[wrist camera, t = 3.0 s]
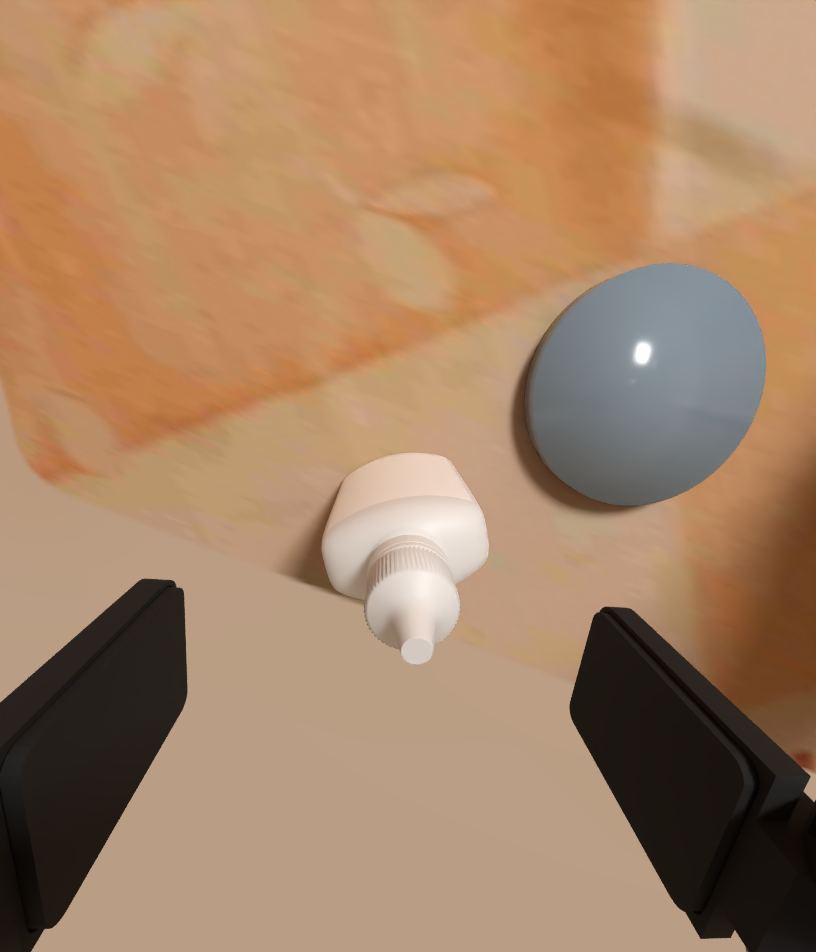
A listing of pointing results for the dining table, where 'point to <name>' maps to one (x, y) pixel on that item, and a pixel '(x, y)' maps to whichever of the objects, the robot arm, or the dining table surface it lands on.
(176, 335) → the dining table surface
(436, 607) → the eye dropper bottle
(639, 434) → the grey flat round piece
